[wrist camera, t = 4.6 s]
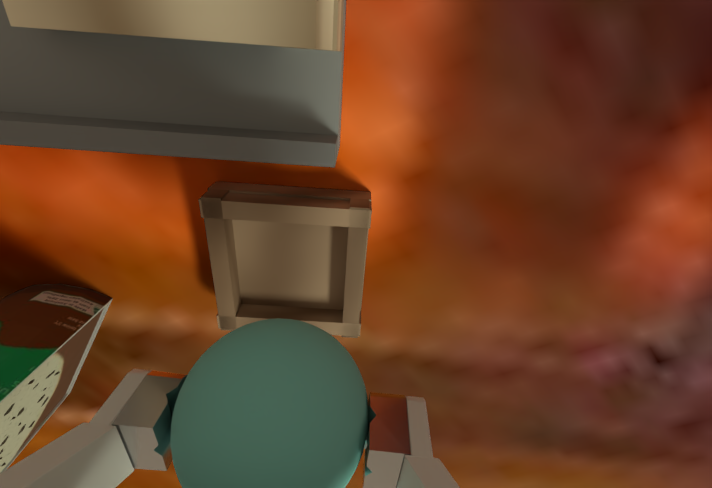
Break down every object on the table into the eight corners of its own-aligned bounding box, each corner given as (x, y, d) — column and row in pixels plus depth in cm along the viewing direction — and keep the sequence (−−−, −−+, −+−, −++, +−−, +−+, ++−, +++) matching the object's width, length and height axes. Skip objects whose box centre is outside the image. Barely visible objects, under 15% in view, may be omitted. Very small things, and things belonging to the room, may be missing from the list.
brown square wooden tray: (370, 191, 16) (371, 208, 14) (359, 312, 19) (359, 338, 18) (216, 181, 16) (198, 196, 14) (231, 304, 19) (219, 329, 17)
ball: (378, 291, 10) (379, 466, 6) (363, 402, 13) (355, 585, 8) (210, 275, 10) (89, 436, 6) (227, 389, 13) (148, 563, 8)
